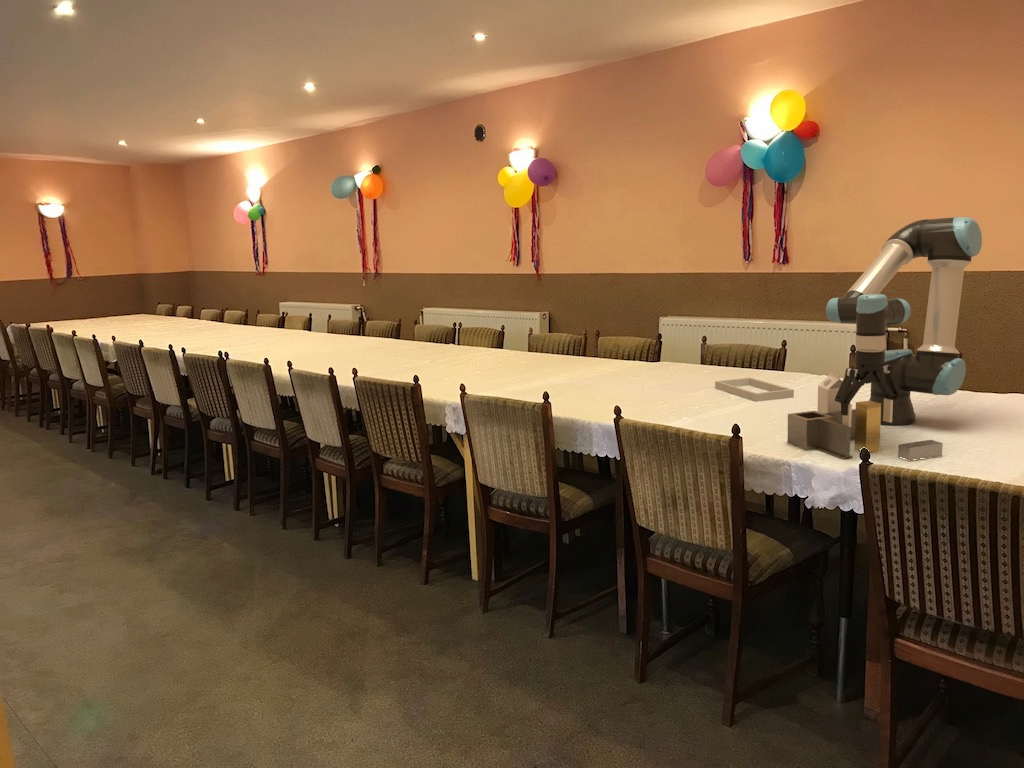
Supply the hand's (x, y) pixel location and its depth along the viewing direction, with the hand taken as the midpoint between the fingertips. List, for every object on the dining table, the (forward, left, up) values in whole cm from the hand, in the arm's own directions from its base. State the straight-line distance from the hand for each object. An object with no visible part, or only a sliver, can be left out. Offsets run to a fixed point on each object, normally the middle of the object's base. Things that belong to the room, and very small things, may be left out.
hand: (867, 424), depth 213 cm
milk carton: (-4, -20, -8) cm, 22 cm away
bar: (-8, +11, -8) cm, 16 cm away
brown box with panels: (+4, -6, -8) cm, 11 cm away
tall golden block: (0, 0, -8) cm, 8 cm away
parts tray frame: (-17, -86, -8) cm, 88 cm away
